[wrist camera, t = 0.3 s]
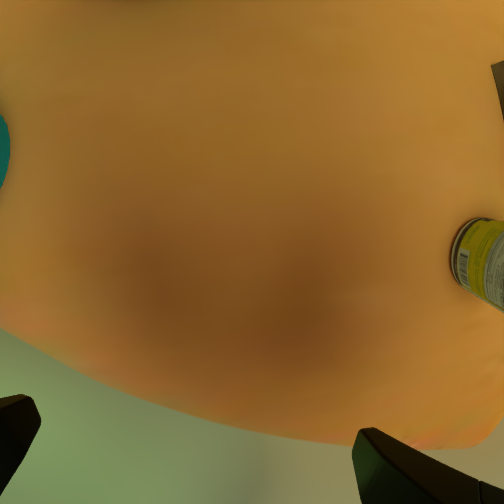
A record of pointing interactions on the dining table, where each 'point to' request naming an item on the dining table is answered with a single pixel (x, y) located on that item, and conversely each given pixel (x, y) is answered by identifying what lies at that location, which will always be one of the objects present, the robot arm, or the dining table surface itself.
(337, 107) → the dining table surface
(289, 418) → the dining table surface
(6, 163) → the mug
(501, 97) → the stand
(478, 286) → the supplement bottle
